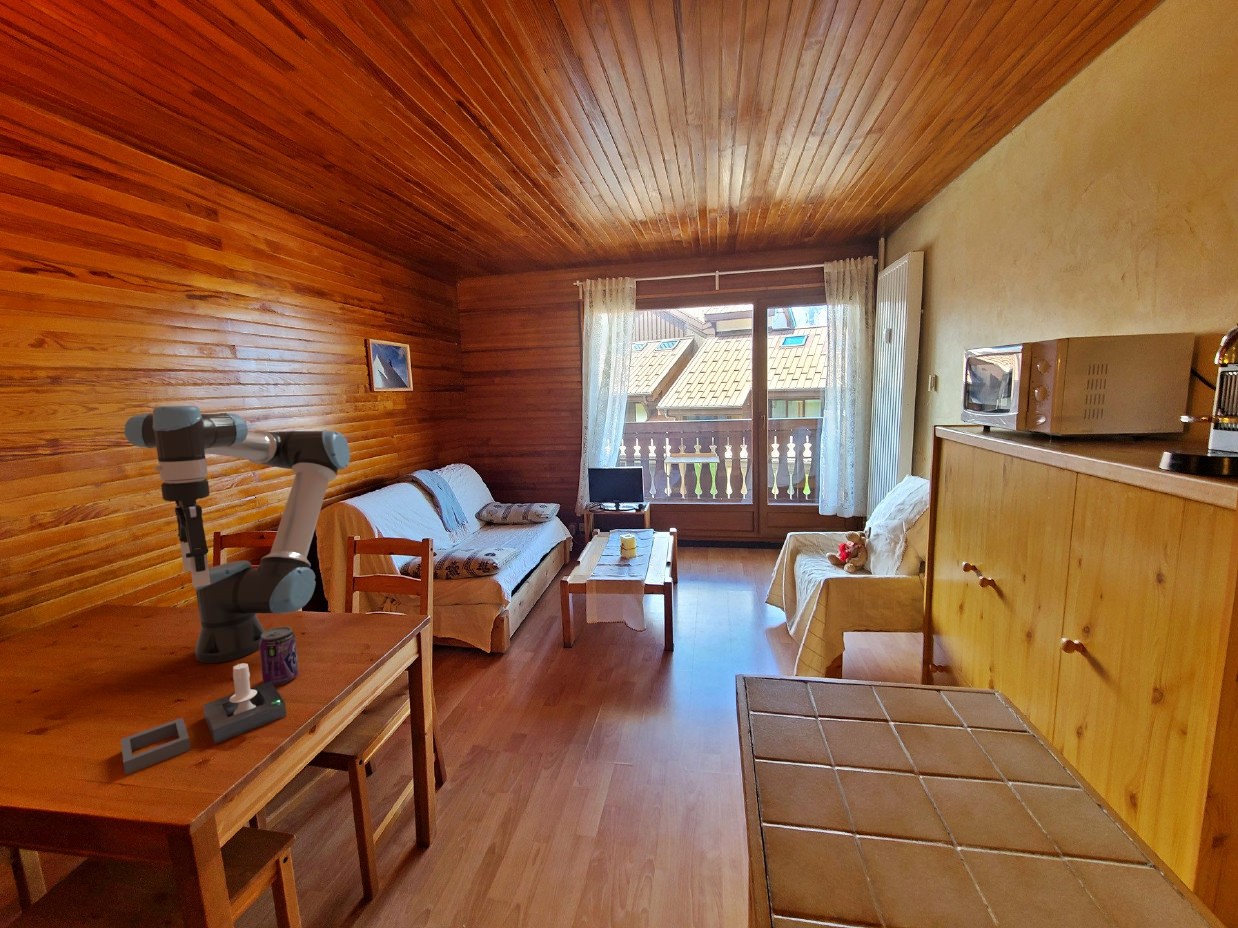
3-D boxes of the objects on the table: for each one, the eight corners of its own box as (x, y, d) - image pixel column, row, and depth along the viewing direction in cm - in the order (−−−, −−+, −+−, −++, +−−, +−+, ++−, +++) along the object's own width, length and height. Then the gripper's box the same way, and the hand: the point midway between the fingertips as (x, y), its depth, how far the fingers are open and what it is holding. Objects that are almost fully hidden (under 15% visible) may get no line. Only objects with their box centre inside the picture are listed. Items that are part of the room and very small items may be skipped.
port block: (204, 717, 106) (202, 702, 106) (271, 693, 115) (270, 679, 115) (215, 744, 98) (213, 727, 98) (286, 715, 107) (285, 700, 106)
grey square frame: (122, 751, 96) (120, 739, 96) (184, 728, 103) (182, 717, 102) (125, 775, 90) (123, 762, 90) (190, 749, 97) (189, 737, 96)
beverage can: (281, 689, 116) (276, 640, 115) (255, 686, 118) (250, 637, 116) (305, 673, 123) (301, 626, 122) (281, 670, 125) (276, 624, 123)
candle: (224, 726, 103) (217, 671, 102) (238, 710, 109) (232, 658, 107) (253, 722, 104) (247, 668, 103) (266, 707, 110) (260, 655, 108)
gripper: (154, 475, 111) (166, 568, 114) (167, 489, 94) (181, 598, 97) (198, 472, 116) (208, 560, 119) (218, 484, 99) (230, 587, 102)
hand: (196, 577), depth 108 cm, fingers open, 13 cm apart
